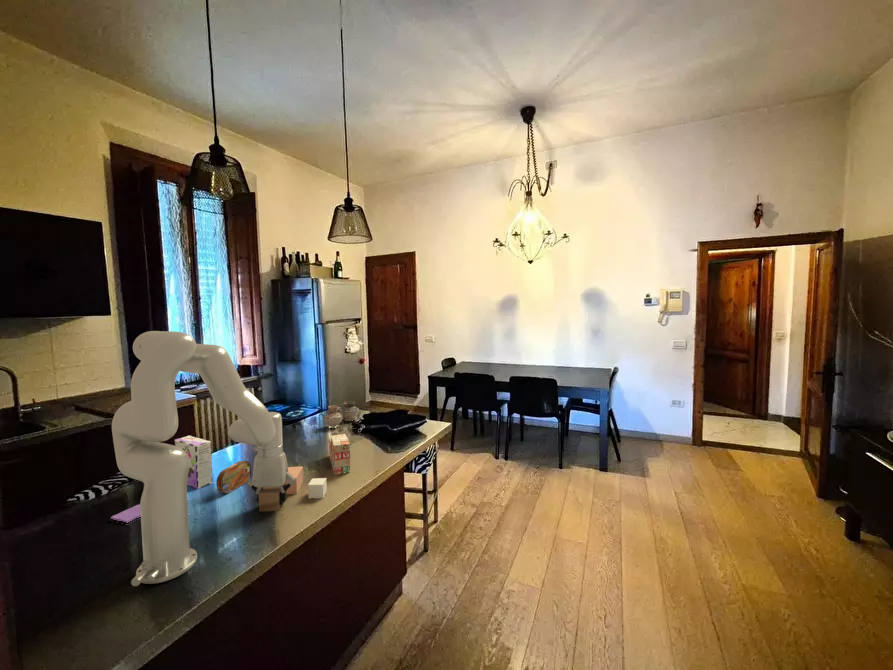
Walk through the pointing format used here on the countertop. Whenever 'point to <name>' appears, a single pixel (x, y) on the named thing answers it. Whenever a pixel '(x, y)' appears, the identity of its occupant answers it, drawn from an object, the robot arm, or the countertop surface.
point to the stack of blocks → (339, 453)
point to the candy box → (197, 460)
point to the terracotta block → (298, 475)
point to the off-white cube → (317, 488)
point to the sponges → (128, 514)
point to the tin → (233, 477)
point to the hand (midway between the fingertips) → (272, 502)
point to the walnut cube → (269, 499)
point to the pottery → (345, 412)
